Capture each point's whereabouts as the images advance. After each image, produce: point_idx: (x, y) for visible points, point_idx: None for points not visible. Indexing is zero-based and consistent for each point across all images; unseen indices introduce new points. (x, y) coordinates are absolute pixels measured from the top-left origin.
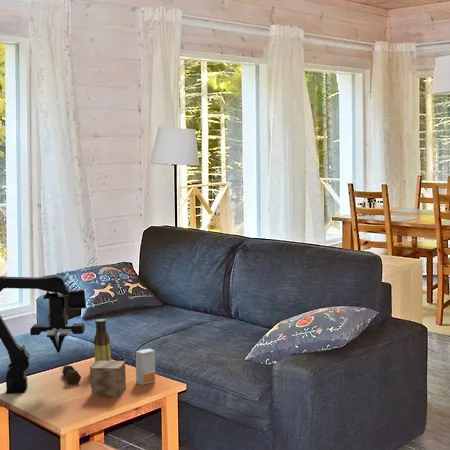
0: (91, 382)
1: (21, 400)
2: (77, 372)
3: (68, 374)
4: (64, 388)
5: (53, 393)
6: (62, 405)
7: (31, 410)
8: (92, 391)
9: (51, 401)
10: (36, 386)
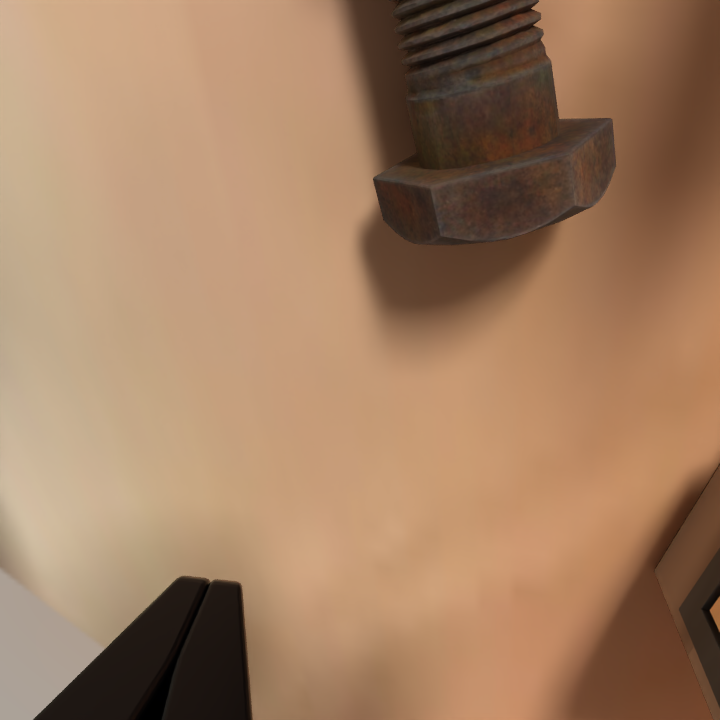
0: (705, 694)
1: (51, 536)
2: (578, 208)
3: (431, 244)
4: (384, 305)
5: (289, 431)
6: (405, 674)
7: None
8: (678, 612)
9: (308, 596)
10: (34, 174)
